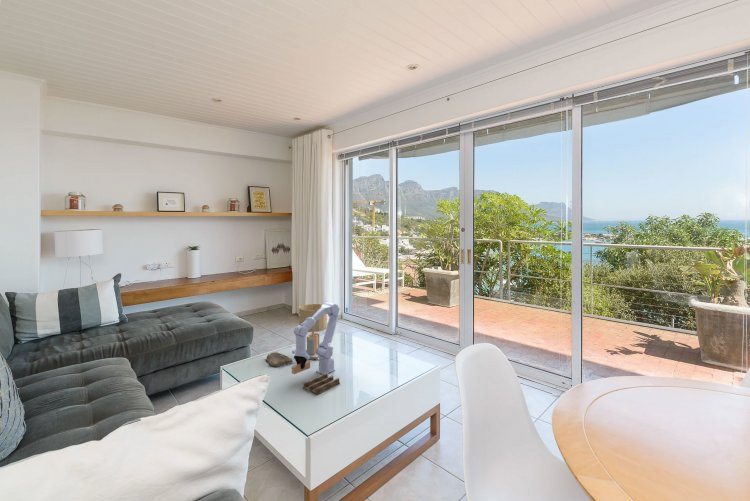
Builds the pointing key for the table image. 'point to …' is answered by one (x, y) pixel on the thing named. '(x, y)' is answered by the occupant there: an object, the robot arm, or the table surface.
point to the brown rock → (278, 359)
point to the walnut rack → (320, 384)
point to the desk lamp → (320, 325)
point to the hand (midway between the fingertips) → (301, 367)
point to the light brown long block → (298, 369)
